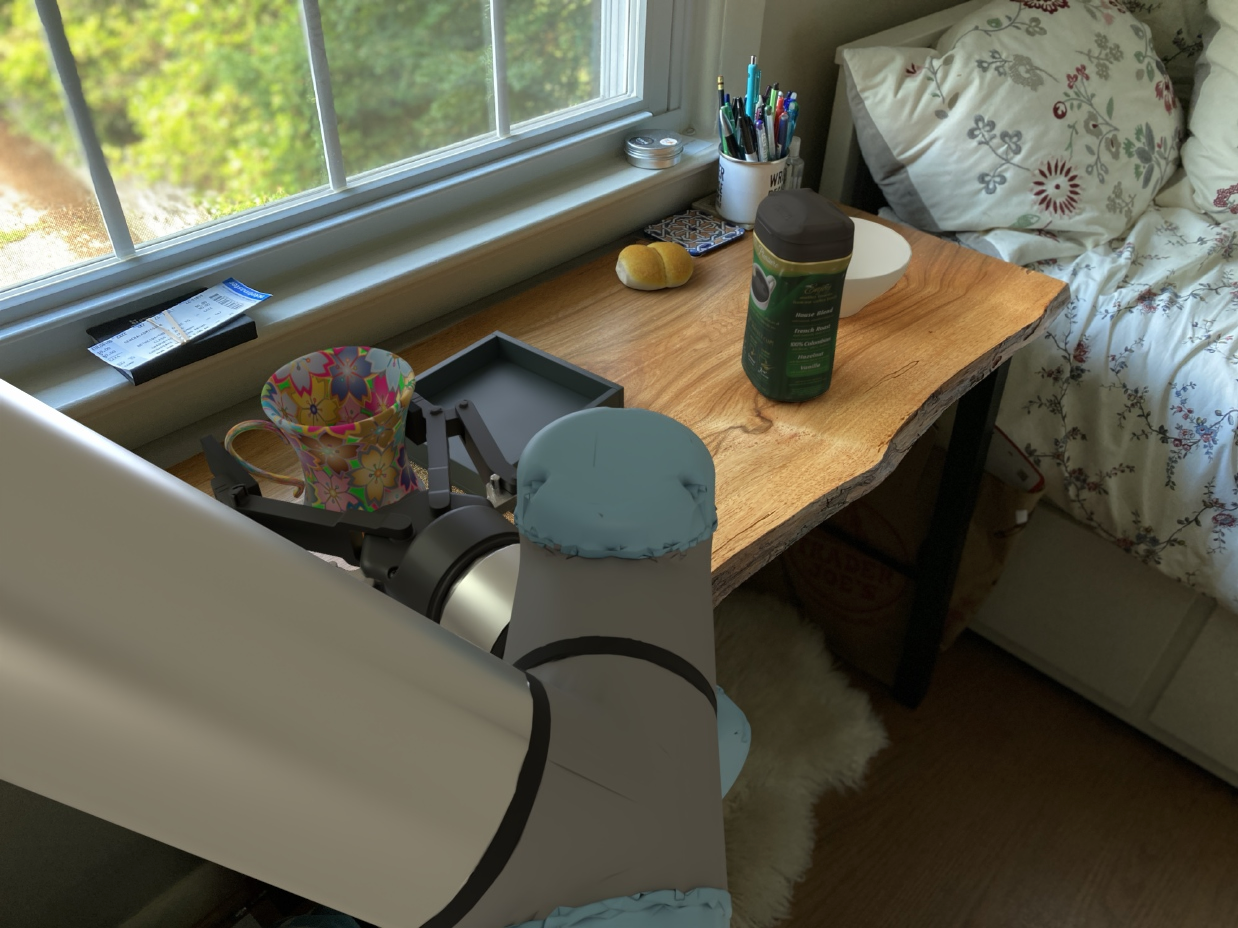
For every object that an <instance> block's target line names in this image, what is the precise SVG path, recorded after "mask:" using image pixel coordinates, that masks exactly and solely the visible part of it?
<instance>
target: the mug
mask: <svg viewBox="0 0 1238 928" xmlns="http://www.w3.org/2000/svg"><path fill="white" fill-rule="evenodd" d="M415 377H416V374H415V372H414V370H413V368H412V367H411V365H410V364H409V363H408V362H407V361H406V360H405V359H404V358H402V357H400V355H398V354H395V353H393V352H391V351H388V350H385V349H381V348H378V347H377V348H376V347H370V346H339V347H332V348H326V349H321V350H318V351H313V352H310V353H308V354H305V355H302V356H300V357H298V358H296V359H294V360H291V361H290V362H288V363H286V364H284V365H283V366H281V367H280V368H278V369H277V370H276V371H275V372H274V373H273V374H272V375H271V376H270V377H269V378H268V380H267V381H266V382H265V384H264V386H263V387H262V390H261V394H260V395H261V396H260V401H261V402H260V404H261V407H262V410H263V411H264V414H265V415H266V416H267V418H268V419H270V421H267V420H262V419H251V420H245V421H241V422H240V423H237V424H236V425H234V426H233V427H232V428H230V430H228V431H227V433H226V435H225V438H224V448H225V449H226V450H227V451H228V452H229V453H230V454H231V455H232V456H233V458H234V459H235V460H236V461H237V462H238V463H239V464H240V465H241V466H242V467H243V468H244V469H245V470H246V471H247V472H248V473H249V474H250V475H251V476H254V477H256V478H258V479H261V480H263V481H266V482H269V483H273V484H277V485H283V486H289V487H290V486H291V487H295V488H294V490H293V491H292V496H293V498H295V499H299V498H300V497H301V496H302V495H303V494H304V496H303V499H302V501H301V503H300V504H301V505H307V506H312V507H317V508H322V509H327V510H332V511H337V512H343V513H344V512H345V511H346V510H347V509H349V508H354V509H359V510H364V511H370V512H372V511H374V510H376V509H378V508H380V507H382V506H385V505H388V504H391V503H394V502H397V501H398V500H400V499H401V498H402V497H403V496H405V495H406V494H407V493H409V492H411V491H413V490H415V489H417V488H418V489H419V490H420V491H422V490H428V488H427V487H426V484H425V482H424V481H423V480H422V478H421V477H420V476H419V475H418V474H417V473H416V471H415V470H414V468H413V466H412V464H411V461H410V460H409V458H408V455H407V450H406V444H405V423H406V416H407V411H408V407H409V403H410V400H411V397H412V395H413V392H414V389H415ZM250 430H265V431H268V432H271V433H273V434H274V435H276V436H278V437H279V438H280V439H281V440H282V442H284V444H285V446H289V445H291V446H292V448H293V450H294V452H295V454H296V456H297V458H298V460H299V463H300V466H301V469H302V473H303V479H302V478H300V477H296V476H295V477H294V476H287V475H283V474H282V475H281V474H277V473H273V472H269V471H266V470H263V469H261V468H258V467H257V466H254V465H252V464H251V463H249V462H248V461H246V460H245V459H243V457H241V456H240V455H239V454H238V453H237V452H236V451H235V449H234V448H233V441H234V440H235V438H237V436H238V435H240V434H242V433H244V432H246V431H250ZM362 534H363V537H364V533H363V532H362Z"/></svg>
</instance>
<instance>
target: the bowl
mask: <svg viewBox="0 0 1238 928" xmlns="http://www.w3.org/2000/svg"><path fill="white" fill-rule="evenodd" d="M848 217H849V218H850V219H852V221H853V222H854V224H855V231H854V245H853V254H852V258H851V261H850V264H849V266H848V269H847V273H846V277H845V282H844V288H843V294H842V301H841V309H840V316H839V319H844V318H848V317H851V316H854V315H856V314H858V313H859V312H860V311H862V309H864V308H865V307H866V306H867V305H868V304H870V303H872V302H874V300H876V299H879V298H880V297H881V296H883V295H884V294H885V293H887V292H889V290H891V289H892V288H893V287H894V286H895V285H896V284H897V283H898V282H899V281H901V279H902V278H903V276H904V275H905V273H907V270H908V267H909V265H910V262H911V260H912V257H913V251H912V245H911V244H910V243H909V241H908V240H907V239H906V238H905V237H904V236H903V235H901V234H900V233H898V232H897V231H895V229H892V228H890V227H888V226H885V225H883V224H881V223H878V222H874V221H871V220H868V219H865V218H859V217H855V216H848Z"/></svg>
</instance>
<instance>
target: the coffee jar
mask: <svg viewBox="0 0 1238 928" xmlns="http://www.w3.org/2000/svg"><path fill="white" fill-rule="evenodd" d="M849 217H850V216H849V215H848V214H847V213H846V212H844V210H842V209H841V208H839V206H838V205H836V204H835V203H834V202H833V201H831V200H830V199H829V198H826V197H824V196H823V195H821V194H820V193H818V192H815V191H814V190H813V189H812V188H810V187H804V188H803V187H802V188H790V189H779V190H772V191H770V192H769V193H768V194H767V195H766V196H765V197H764V198H763V199H762V200H761V201H760V203H759V204H758V206H757V209H756V213H755V218H754V224H753V231H752V233H753V234H752V247H753V249H752V250H753V251H752V254H753V255H752V269H751V270H752V271H751V278H750V279H751V282H750V289H749V295H748V303H747V304H748V305H747V312H746V313H747V314H746V322H745V326H744V327H745V328H744V335H743V342H742V350H741V359H740V361H741V362H740V363H741V366H742V368H743V371H744V374H745V375H746V377H747V379H748V380H749V382H750V383H751V384H752V385H753V387H754V389H755V390H756V391H758V393H759V394H760V395H762V396H763V397H764V398H766V399H768V400H771V401H777V402H778V401H779V402H789V403H801V402H806V401H809V400H814V399H815V398H819V397H820V396H823V395H824V394H826V393H827V392H828V391H829V390H830V389H831V385H832V379H833V371H834V365H835V358H836V357H835V356H836V349H837V339H838V338H837V337H838V331H839V323H840V318H839V316H840V309H841V301H842V294H843V288H844V282H845V277H846V273H847V269H848V266H849V264H850V261H851V258H852V254H853V245H854V231H855V224H854V222H853V221H852V219H850V218H849Z"/></svg>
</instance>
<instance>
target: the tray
mask: <svg viewBox="0 0 1238 928" xmlns="http://www.w3.org/2000/svg"><path fill="white" fill-rule="evenodd" d="M414 392H416V393H417V394H418V395H420V396H421V397H422V398H424V399H425V400H426V401H428V402H429V403H430V404H432V405H433V406H441V407H443V408H444V409H450V408H455V403H456V402H457V401H459V400H463V399H467V400H470V401H472V402H473V404H474V406H475V407H476V409H477V411H478V413H479V414H480V416H481V418H482V420H483V421H484V423H485V425H486V427H487V428H488V430H489V432H490V434H491V435H492V437H493V439H494V440H495V442H496V444H497V446H498V447H499V449H500V451H501V453H502V454H503V456H504V458H505V460H506V461H507V462H508V463H510V464H511V465H512V466H514V467H515V468H517V467H518V462H519V459H520V457H521V455H522V452H523V450H524V449H525V447H526V445H527V444H528V442H529V441H530V440H531V439H532V438H533V437H534V435H535V434H537V433H538V432H539V431H540V430H542V429H543V428H544V427H545V426H547V425H548V424H550V423H552V422H553V421H555V420H557V419H559V418H561V417H563V416H566V415H568V414H571V413H574V412H578V411H582V410H585V409H590V408H596V407H610V408H625V387H624V386H623V385H621V384H619V383H616V382H614V381H612V380H609V379H608V378H605V377H603V376H601V375H598V374H596V373H595V372H592V371H589V370H587V369H585V368H582V367H580V366H578V365H577V364H573V363H572V362H569V361H567V360H565V359H562V358H560V357H558V356H556V355H553V354H551V353H549V352H547V351H544V350H542V349H540V348H537V347H536V346H533V345H531V344H529V343H526V342H524V341H522V340H519V339H518V338H515V337H513V336H511V335H508V334H506V333H504V332H501V331H500V330H495V331H494V332H492V333H490V334H488V335H486V336H485V337H483V338H481V339H479V340H477V341H476V342H474V343H472V344H471V345H469V346H467V347H465V348H464V349H461V350H460V351H458V352H456V353H455V354H452V355H451V356H450V357H447V358H446V359H444V360H442V361H440V362H439V363H437V364H435V365H433V366H432V367H429V368H428V369H426V370H425V371H423V372H421V373H419V374H417V375H415V389H414ZM426 438H427V435H426ZM448 439H449V446H450V449H449V452H450V466H451V479H452V487H455V488H456V489H458V490H459V491H461V492H462V493H464V494H470V495H478V496H483V497H485V498H487V490H486V487H485V485H484V483H483V481H482V479H481V477H480V475H479V473H478V471H477V470H476V468H475V466H474V464H473V462H472V460H471V458H470V456H469V455H468V453H467V451H466V449H465V447H464V445H463V443H462V441H461V439H460V438H459V435H458V436H453V437H449V438H448ZM405 444H406V450H407V455H408V458H409V461H410V463H413V464H415V465H416V466H418V467H419V468H422V469H423V470H425V471H427V472H428V452H427V442H425V443H423V444H421V445H418V446H417V445H416V444H415V443H413V442H412V441H411V440H410V439H408V438H407V437H406V436H405Z"/></svg>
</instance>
